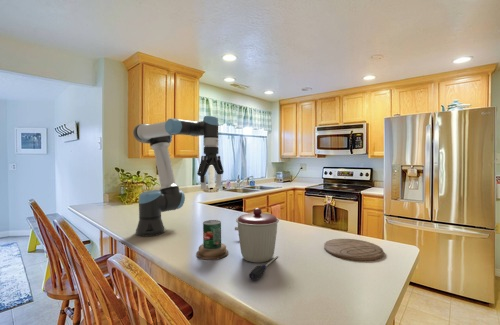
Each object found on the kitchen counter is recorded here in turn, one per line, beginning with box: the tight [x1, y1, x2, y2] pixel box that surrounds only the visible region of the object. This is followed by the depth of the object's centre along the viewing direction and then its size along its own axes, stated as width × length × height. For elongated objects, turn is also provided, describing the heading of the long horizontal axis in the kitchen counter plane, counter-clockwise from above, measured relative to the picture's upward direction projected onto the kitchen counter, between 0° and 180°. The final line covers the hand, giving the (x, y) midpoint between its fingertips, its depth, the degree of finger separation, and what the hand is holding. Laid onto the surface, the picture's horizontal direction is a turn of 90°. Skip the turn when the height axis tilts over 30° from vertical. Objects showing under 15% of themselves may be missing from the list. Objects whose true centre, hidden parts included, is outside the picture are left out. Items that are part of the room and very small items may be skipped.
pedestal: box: [195, 242, 229, 261], centre depth 117 cm, size 14×14×3 cm
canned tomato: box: [202, 219, 222, 250], centre depth 117 cm, size 8×8×11 cm
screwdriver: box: [248, 255, 278, 282], centre depth 101 cm, size 26×4×4 cm, turn 155°
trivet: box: [323, 238, 384, 262], centre depth 120 cm, size 25×25×2 cm
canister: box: [235, 207, 280, 264], centre depth 111 cm, size 18×18×21 cm
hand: (211, 187), depth 137 cm, fingers open, 13 cm apart
